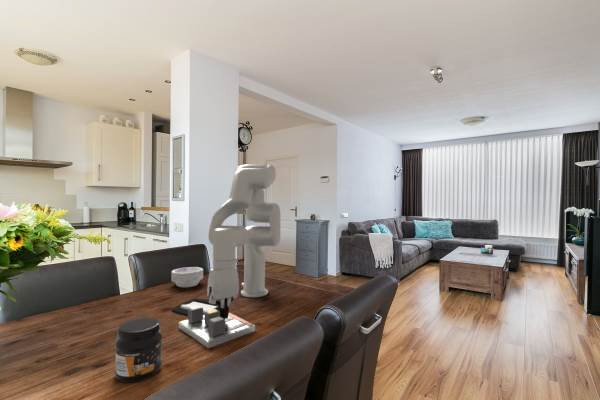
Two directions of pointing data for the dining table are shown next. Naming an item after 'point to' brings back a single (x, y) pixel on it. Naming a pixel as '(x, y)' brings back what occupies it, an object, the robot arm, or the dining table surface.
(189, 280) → the grey round bowl
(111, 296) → the dining table surface
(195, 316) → the block
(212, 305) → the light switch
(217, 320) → the breaker right
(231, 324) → the panel
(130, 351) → the supplement container
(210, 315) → the block
